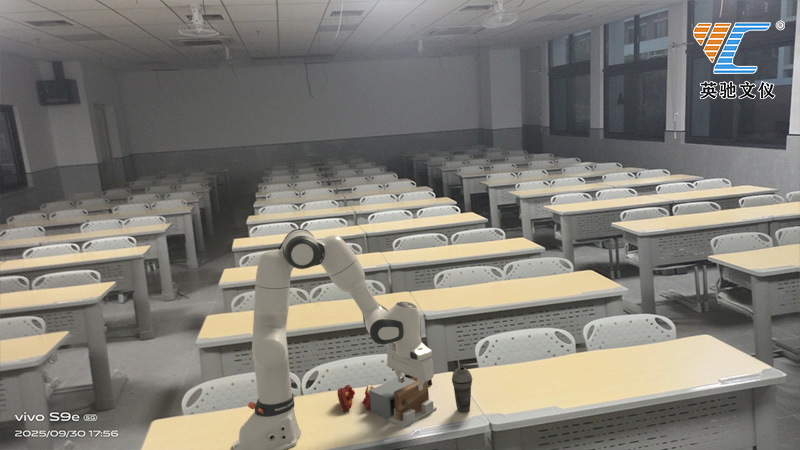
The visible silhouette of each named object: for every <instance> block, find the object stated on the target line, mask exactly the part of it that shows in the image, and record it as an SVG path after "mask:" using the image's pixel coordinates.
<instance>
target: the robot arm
mask: <svg viewBox="0 0 800 450" xmlns="http://www.w3.org/2000/svg"><path fill="white" fill-rule="evenodd" d="M320 265H321V266H322V267H323V270H324V271H325V272H326V274H327V276H328V277H329V278H330V280H331V281H332V283H333V284H334V285H335V286H336V287H337V288H338V289H339V290H340V291H341V292H345V293H347V294H348V295H349V296H351V297H352V300H354V302H355V304H356V305H357V307H358V308H359V310H360V312H361V313H362V314H361V315H362V318H363V319H362V320H363V325H364V327H365V328H366V330H367V333H368V335H369V337H370V338H371V340H372V341H373V342H374V343H375V344H378V345H388V346H387V347H388V348H387V349H388V350H387V357H386V360H387V361H386V364H387V367H388V368H389V369H392V370H394V373H395V375H396V378H398V382H400V383H402V382H404V377H405V376H404V377H403V375H404V374H407V375H410V376H412V377H415V378H417V379H418V381H419V384H417V385H416V387H417V390H422V389H423V384H424V382H426V381H429V380H431V379H434V378H433V377H434V375H435V374H434V373H435V371H434V362H433V361H434V360H433V358H432V356H433V350H432V349H430V348H429V347H427V345H425V343H423V342H422V340H421V339H422V337H421V334H420V332H421V318H420V313H419V312H420V311H419V309H418V307H417V306H416V304H414V303H412V302H409V301H399V302H396V303H395V304H394V305H393V306H392V307H391V308H389V309H387V308H386V307H384V306H383V305H381V304H380V303H379V302H378V301H377V300H376V299H375V297H374V295H373V294H372V293H371V291H370V290H369V288H368V286H367V283H366V273H365V271H364V269H363V266H362V264H361V262H360V260H359V259H358V258H357V256H356V255H355V253H354V251H353V250H352V249H351V247H350V246H349V245H348V244H347V242H345V240H344V239H343V238H342V237H341V236H339V235H336V234H333V235H328V236H326V237H324V238H322V239H317V238H316V237H315V236H314V235H313V233H311V231H309V230H307V229H304V228H297V229H292V230H291V231H290V232H288V233H287V235H286V236H285V237H284V239H283V241H282V242H281V243H280V245H279V246H278V250H268V251H266V252H263V253H262V254H261V255H260V258H259V260H258V264H257V268H256V276H255V287H254V304H253V320H252V321H253V324H252V343H251V352H252V359H253V368H254V373H255V380H256V389H257V400H256V403H254V402H253V401H249V402H248V405H247V407H248V408H249V409H250V410H254V411H253V413H252V414H251V415H250V416H249V418H248V419H247V420H246V421H245V422H244V423H243V424H242V425H241V427H240V429H239V433H238V434H239V435H238V439H237V440H235V441H234V442H232V443H233V444H232V450H287V449H290V448H292V447H295V446H296V445H297V444H298V439H299V438H300V436H301V434H302V433H301V429H300V427H299V424H298V421H297V417H296V413H295V398H294V397H295V396H294V393H293V390H292V383H291V372H290V371H291V370H290V369H291V368H290V362H289V349H288V342H287V341H288V340H287V326H288V324H287V323H288V317H289V311H290V293H291V292H290V291H291V275H292V271H293V269H298V270H305V269H309V268H312V267H315V266H316V267H317V266H320Z"/></svg>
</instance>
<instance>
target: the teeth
mask: <svg viewBox="0 0 800 450" xmlns="http://www.w3.org/2000/svg"><path fill="white" fill-rule="evenodd" d="M373 388H375V387H374V386H373V385H371V384H367V386H366V388H365V391H364V395H365V397H364V398H363V401H362V404H363V405H364V407H365V409H366V410H368V411H371V405H370V392H369V390H371V389H373ZM336 393H337V399H338V402H339V405H340V407H341V409H342V411H343V412H347V411H349V410H350V409H351V408H352V406H353V401H352V400H353V399H354V398H355V395H356V392H355V390H354V389H353V387H352V386H351V384H346V385H345V386H344V387H340V388H338V389H337V392H336Z"/></svg>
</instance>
